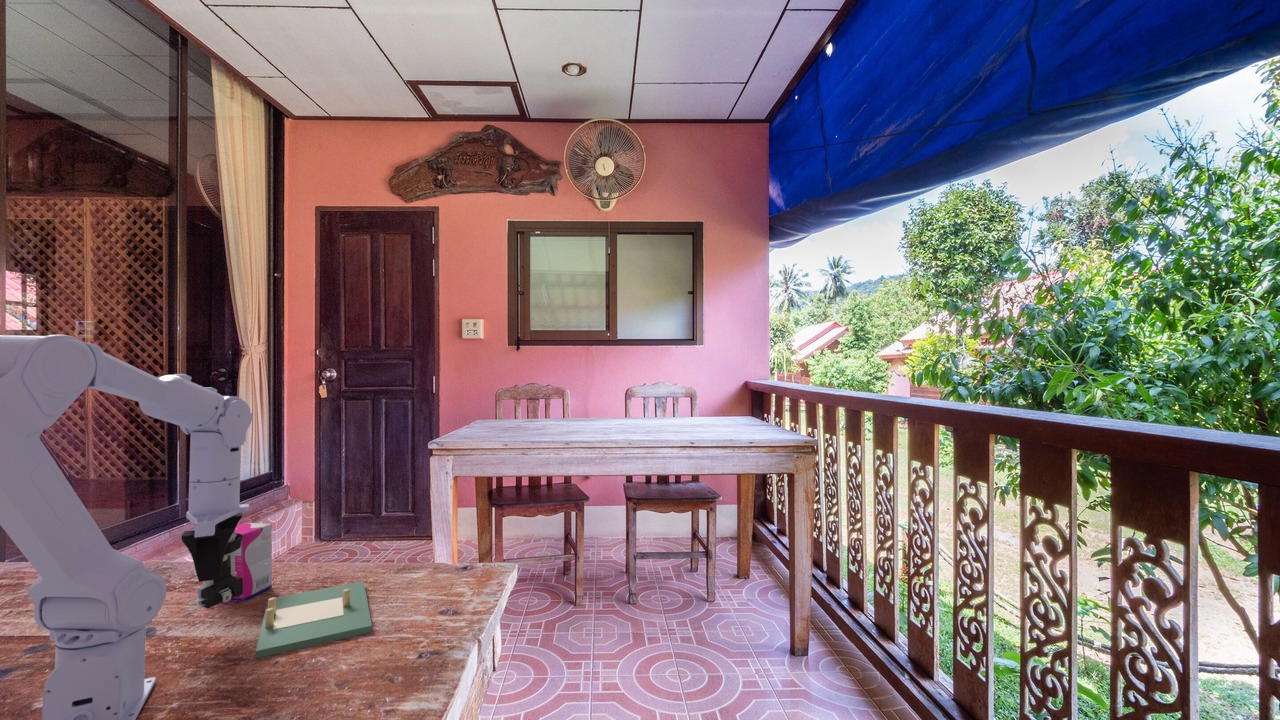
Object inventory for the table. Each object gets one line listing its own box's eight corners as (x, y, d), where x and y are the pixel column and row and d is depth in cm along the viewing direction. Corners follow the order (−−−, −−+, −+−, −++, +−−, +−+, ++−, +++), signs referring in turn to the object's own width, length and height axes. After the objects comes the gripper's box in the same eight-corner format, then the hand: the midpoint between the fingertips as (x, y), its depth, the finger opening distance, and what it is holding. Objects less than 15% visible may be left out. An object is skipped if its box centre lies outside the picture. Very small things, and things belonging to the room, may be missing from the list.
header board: (371, 632, 77) (372, 608, 77) (255, 658, 70) (256, 632, 70) (363, 587, 93) (364, 567, 93) (268, 604, 85) (268, 583, 85)
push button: (202, 618, 71) (201, 547, 70) (176, 610, 73) (175, 540, 72) (252, 595, 77) (251, 529, 77) (227, 588, 79) (226, 524, 78)
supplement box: (243, 585, 93) (245, 521, 93) (272, 588, 92) (274, 523, 92) (212, 599, 87) (214, 531, 87) (242, 602, 86) (244, 533, 86)
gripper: (243, 485, 71) (240, 585, 71) (255, 467, 83) (253, 551, 83) (175, 491, 67) (172, 596, 67) (198, 471, 79) (195, 559, 79)
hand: (212, 572), depth 75 cm, fingers closed on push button, 5 cm apart
